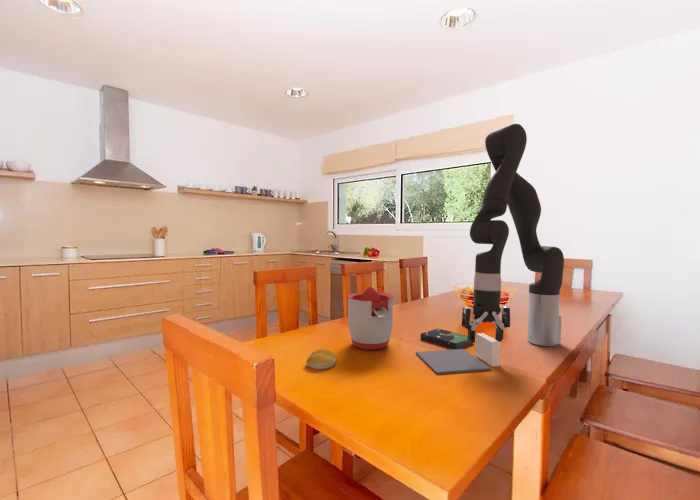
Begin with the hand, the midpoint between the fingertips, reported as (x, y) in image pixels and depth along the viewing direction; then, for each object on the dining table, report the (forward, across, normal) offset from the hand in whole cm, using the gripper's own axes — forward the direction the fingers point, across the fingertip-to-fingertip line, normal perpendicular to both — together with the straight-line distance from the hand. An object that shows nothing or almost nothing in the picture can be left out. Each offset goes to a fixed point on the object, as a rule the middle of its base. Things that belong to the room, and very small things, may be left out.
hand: (485, 341), depth 104 cm
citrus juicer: (+6, +31, -18) cm, 36 cm away
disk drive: (+6, +4, -19) cm, 20 cm away
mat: (+6, +10, -1) cm, 12 cm away
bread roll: (+7, +48, -5) cm, 49 cm away
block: (+6, -1, 0) cm, 6 cm away
